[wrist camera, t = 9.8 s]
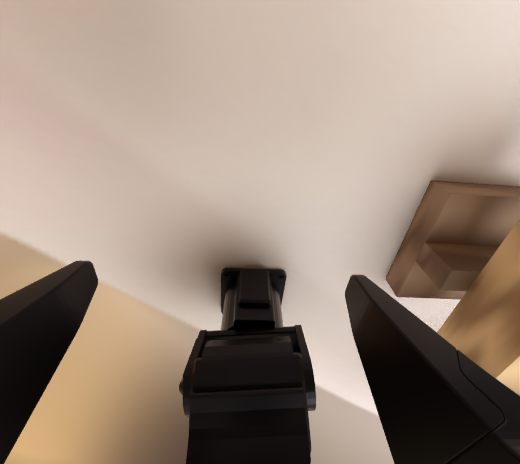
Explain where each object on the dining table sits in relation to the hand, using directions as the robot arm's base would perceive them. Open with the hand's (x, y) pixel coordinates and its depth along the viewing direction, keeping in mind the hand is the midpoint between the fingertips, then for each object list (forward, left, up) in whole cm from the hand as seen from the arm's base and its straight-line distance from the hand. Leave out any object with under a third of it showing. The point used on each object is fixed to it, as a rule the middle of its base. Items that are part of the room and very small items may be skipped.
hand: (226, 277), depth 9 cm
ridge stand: (-6, -20, -13) cm, 24 cm away
